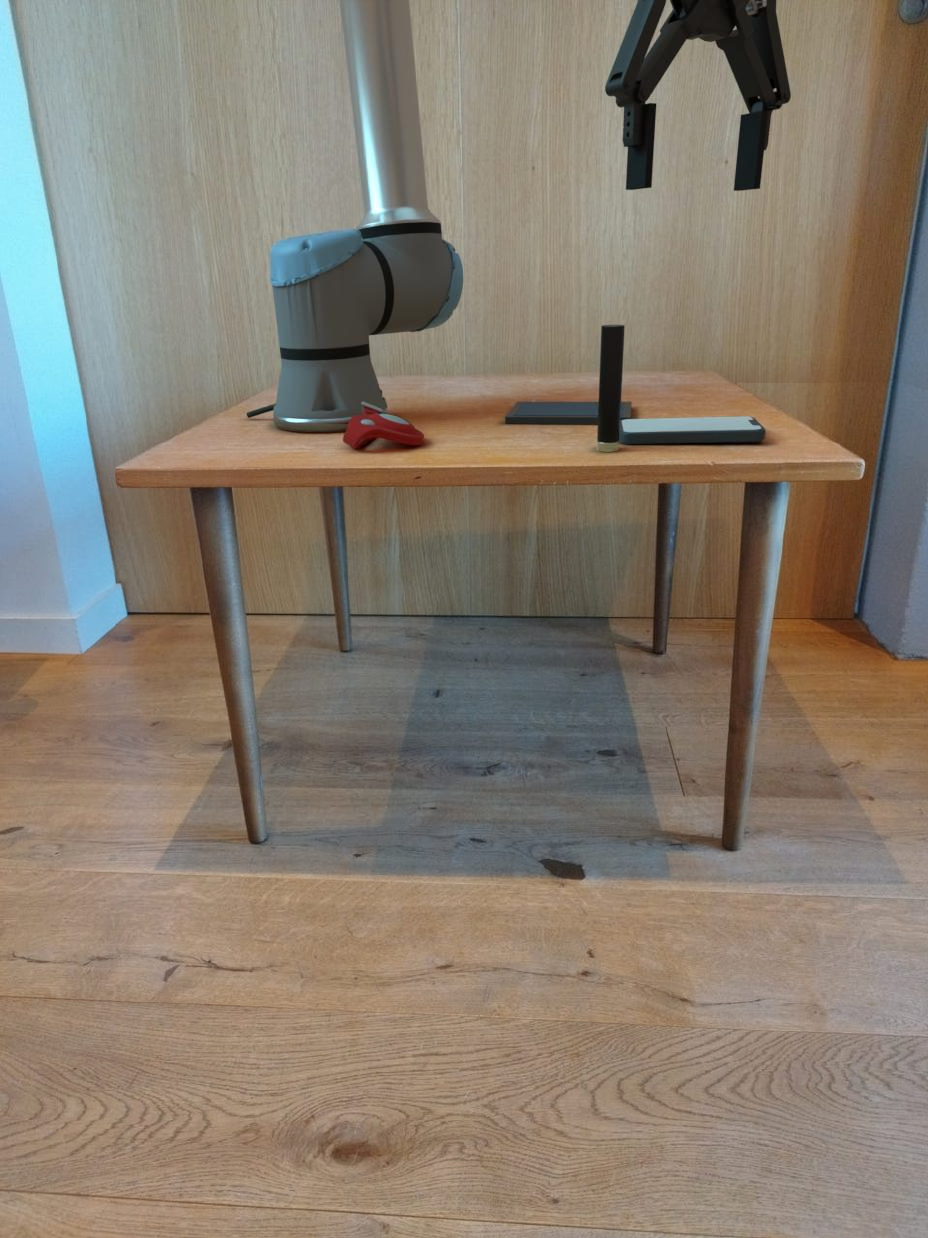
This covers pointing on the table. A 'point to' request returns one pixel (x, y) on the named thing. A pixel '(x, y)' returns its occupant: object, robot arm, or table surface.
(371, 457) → the table surface
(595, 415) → the tablet
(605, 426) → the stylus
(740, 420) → the phone case
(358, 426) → the red curved piece
